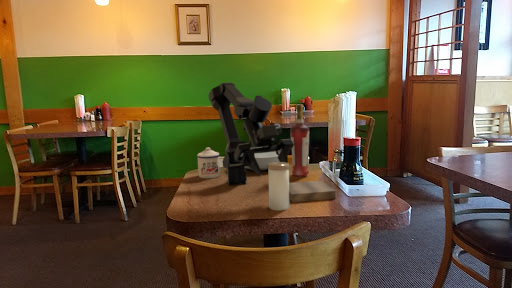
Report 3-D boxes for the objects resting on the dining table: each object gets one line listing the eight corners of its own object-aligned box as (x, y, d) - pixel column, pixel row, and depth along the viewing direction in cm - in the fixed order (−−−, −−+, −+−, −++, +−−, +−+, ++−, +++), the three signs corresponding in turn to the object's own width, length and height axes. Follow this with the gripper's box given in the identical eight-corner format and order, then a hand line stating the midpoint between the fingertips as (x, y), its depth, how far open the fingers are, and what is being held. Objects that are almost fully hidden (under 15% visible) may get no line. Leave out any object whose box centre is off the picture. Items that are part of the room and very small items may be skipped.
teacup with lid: (199, 179, 145) (198, 150, 143) (196, 174, 153) (195, 146, 151) (229, 176, 148) (228, 148, 146) (225, 171, 157) (223, 144, 155)
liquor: (293, 172, 151) (292, 104, 147) (311, 173, 149) (311, 104, 144) (288, 177, 144) (287, 105, 140) (307, 178, 142) (306, 105, 137)
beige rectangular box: (292, 202, 114) (292, 194, 113) (282, 190, 126) (282, 183, 126) (335, 198, 116) (335, 190, 116) (321, 187, 129) (321, 180, 128)
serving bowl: (277, 174, 149) (277, 158, 148) (228, 172, 155) (228, 156, 154) (287, 164, 169) (287, 149, 168) (244, 162, 175) (243, 148, 174)
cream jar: (271, 211, 106) (269, 167, 104) (266, 204, 112) (265, 162, 110) (292, 209, 107) (292, 165, 105) (286, 202, 113) (286, 161, 111)
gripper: (236, 117, 109) (253, 160, 100) (290, 113, 117) (310, 152, 109) (227, 140, 117) (242, 182, 109) (278, 135, 125) (296, 173, 117)
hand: (274, 172), depth 110 cm, fingers open, 9 cm apart
